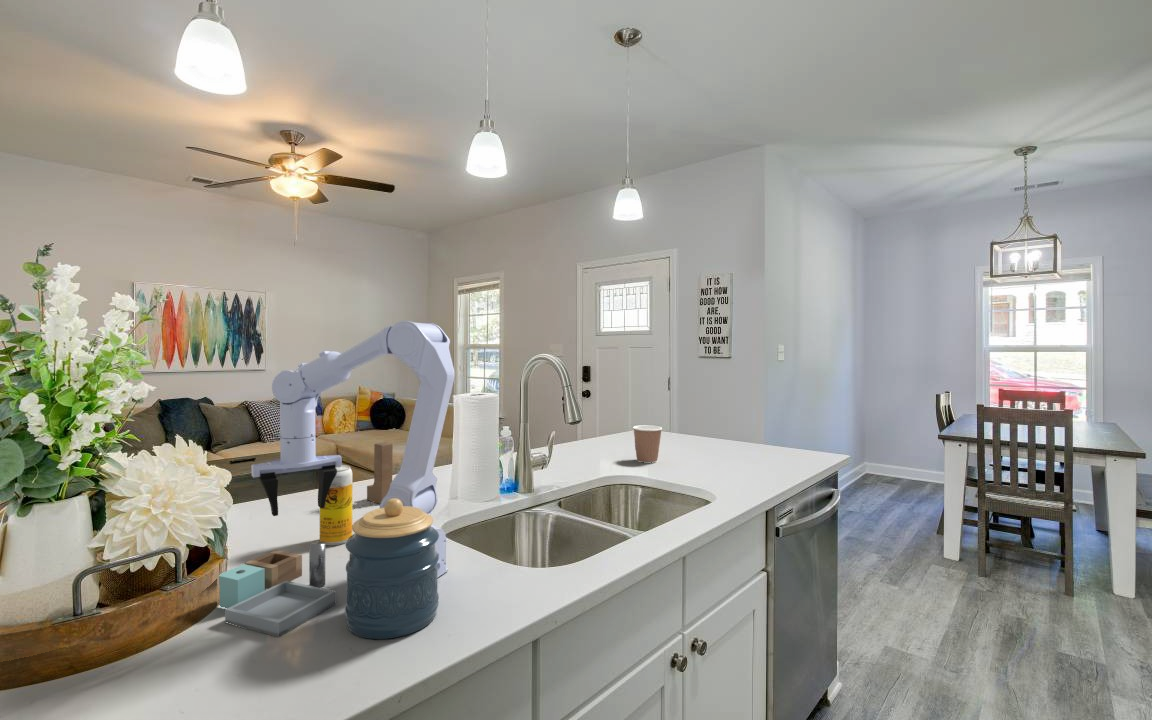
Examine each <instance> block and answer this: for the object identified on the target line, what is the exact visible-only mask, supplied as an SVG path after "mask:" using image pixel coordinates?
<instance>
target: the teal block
mask: <svg viewBox="0 0 1152 720" xmlns="http://www.w3.org/2000/svg"><path fill="white" fill-rule="evenodd" d="M219 574H220V575H219V585H220V602H219V603H220V604H219V605H220V606H221V607H225V608H229V607H231V606H233V605H236V604H238V603H240V602H242V601H244V600H246V599H248V598H250V597H252V596H254V595H256V594H259V593H261V592H263V591H265V590H266V589H265V568H260V567H255V566H250V565H245V563H242V564H241V565H238V566H236V567H233V568H231V569H229V570H225V571H224V572H222V573H219Z"/></svg>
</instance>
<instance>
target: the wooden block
mask: <svg viewBox="0 0 1152 720" xmlns="http://www.w3.org/2000/svg"><path fill="white" fill-rule="evenodd" d="M373 447H374V448H373V449H374V450H373V451H374V453H373V455H374V457H373V458H374V459H373V460H374V461H373V463H374V464H373V465H374V466H373V471H374V472H373V474H374V475H373V480H374V481H373V484H370V485H367V486H366V500H367V501H369V502H373V503H375V504H378V505H380V504H381V501H382V500H383V498H384V497H385V496H386V495H387V493H388V491H389V488H390V484H391V482H392V481H393V453H394V452H393V449H394V448H393V447H394V446H393V443H392V442H391V443H390V442H385V441H383V442H377V443H374V445H373Z"/></svg>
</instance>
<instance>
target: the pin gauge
mask: <svg viewBox="0 0 1152 720" xmlns="http://www.w3.org/2000/svg"><path fill="white" fill-rule="evenodd" d="M308 551H309V553H308V554H309V555H308V556H309V557H308V558H309V560H308V563H309V567H308V569H309V579H308V580H309V586H314V587H318V588H324V587H326V545H325V542H323V541H320V540H318V541H313V542H311V543H310V544H309V550H308Z"/></svg>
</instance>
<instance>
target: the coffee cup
mask: <svg viewBox="0 0 1152 720" xmlns="http://www.w3.org/2000/svg"><path fill="white" fill-rule="evenodd" d="M632 429H633V435H634V449H635V453H636V454H635V455H636V460H637V462H639V463H641V462H644V463H643V464H652V463H651V462H655V463H657V462H656V461H658V458H659V451H660V443H661V437H662V430H663V427H661V426H657V425H651V424H650V425H647V424H646V425H644V424H641V425H635V426H633V427H632Z"/></svg>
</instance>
